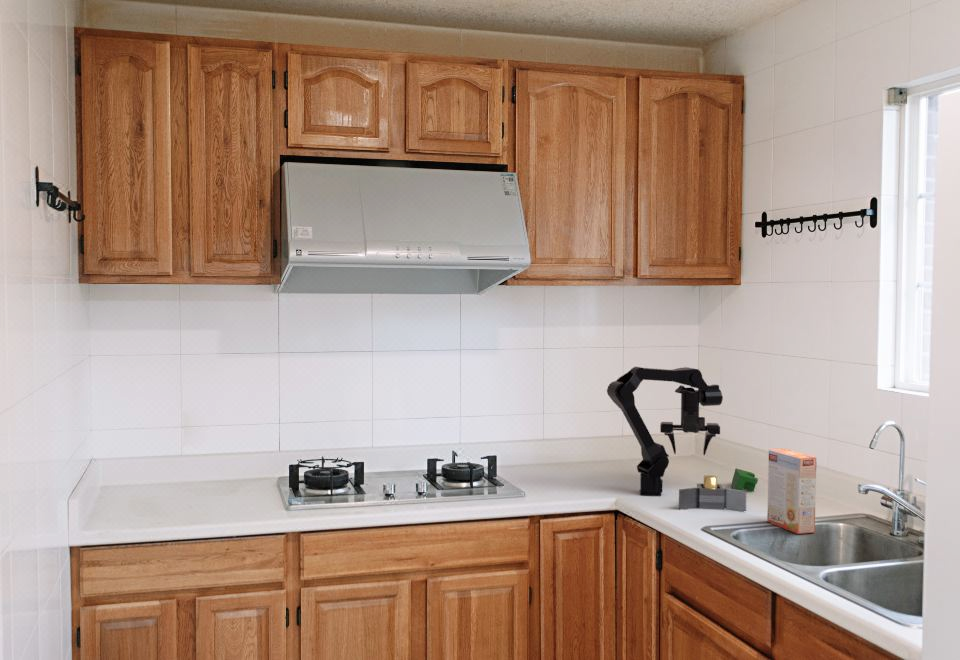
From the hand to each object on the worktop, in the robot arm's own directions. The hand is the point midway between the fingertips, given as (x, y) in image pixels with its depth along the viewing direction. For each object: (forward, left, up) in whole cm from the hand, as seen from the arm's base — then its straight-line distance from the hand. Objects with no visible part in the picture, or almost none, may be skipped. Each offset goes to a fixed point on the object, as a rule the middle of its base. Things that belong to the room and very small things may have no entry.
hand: (689, 454), depth 292 cm
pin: (+4, -19, -12) cm, 23 cm away
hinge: (+4, -21, -12) cm, 24 cm away
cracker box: (+23, -41, -12) cm, 49 cm away
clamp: (+18, +5, -12) cm, 23 cm away
